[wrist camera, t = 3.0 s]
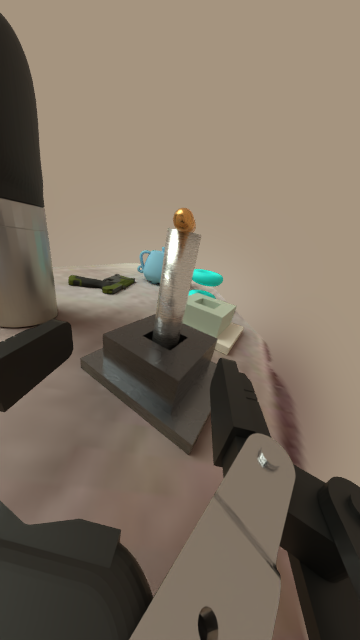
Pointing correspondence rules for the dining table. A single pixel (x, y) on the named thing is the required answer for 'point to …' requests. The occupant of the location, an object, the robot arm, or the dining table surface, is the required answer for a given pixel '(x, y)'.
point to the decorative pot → (152, 265)
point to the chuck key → (176, 278)
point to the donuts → (205, 280)
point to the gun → (103, 283)
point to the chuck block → (158, 377)
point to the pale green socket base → (213, 320)
